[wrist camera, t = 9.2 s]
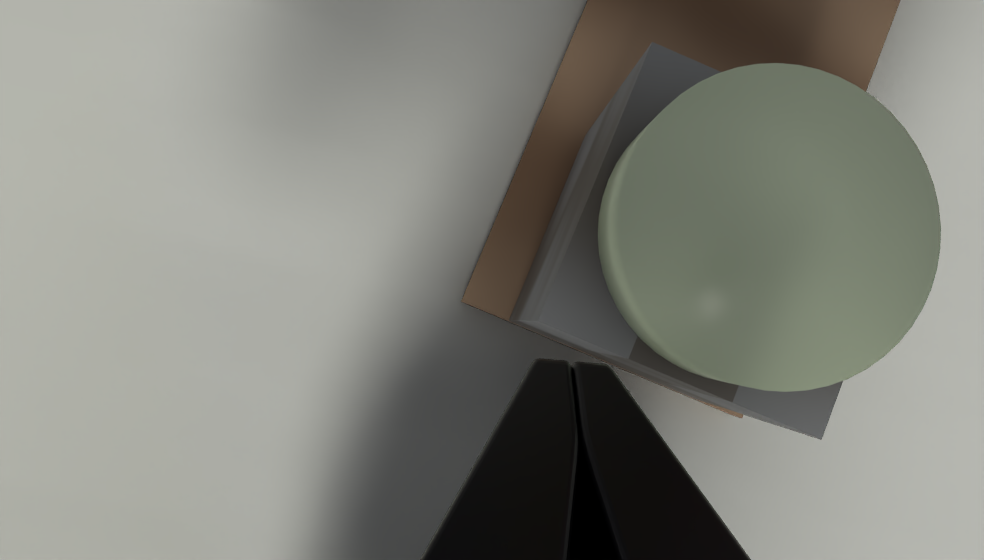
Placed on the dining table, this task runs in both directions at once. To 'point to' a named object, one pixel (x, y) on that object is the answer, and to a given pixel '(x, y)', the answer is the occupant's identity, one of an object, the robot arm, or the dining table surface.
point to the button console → (603, 139)
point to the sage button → (771, 229)
